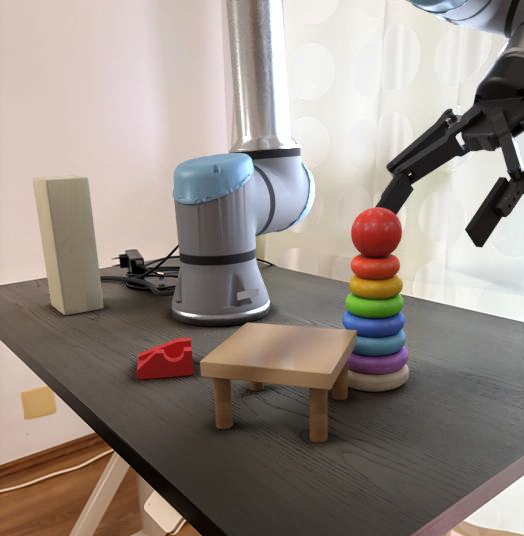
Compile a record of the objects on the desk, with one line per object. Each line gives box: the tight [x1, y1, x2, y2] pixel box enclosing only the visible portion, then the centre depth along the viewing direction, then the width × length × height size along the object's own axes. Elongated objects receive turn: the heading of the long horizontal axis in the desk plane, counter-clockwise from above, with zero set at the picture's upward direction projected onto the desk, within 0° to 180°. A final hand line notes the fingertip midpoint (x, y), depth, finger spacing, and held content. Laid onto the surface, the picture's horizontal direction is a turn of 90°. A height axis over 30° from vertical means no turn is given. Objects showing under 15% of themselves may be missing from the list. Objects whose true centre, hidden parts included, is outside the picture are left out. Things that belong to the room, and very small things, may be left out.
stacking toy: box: [341, 206, 410, 392], centre depth 62 cm, size 8×8×19 cm
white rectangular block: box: [31, 174, 104, 316], centre depth 95 cm, size 8×7×21 cm
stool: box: [199, 322, 357, 443], centre depth 57 cm, size 12×12×7 cm
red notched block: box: [136, 336, 195, 380], centre depth 69 cm, size 6×5×3 cm
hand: (420, 231), depth 63 cm, fingers open, 13 cm apart
